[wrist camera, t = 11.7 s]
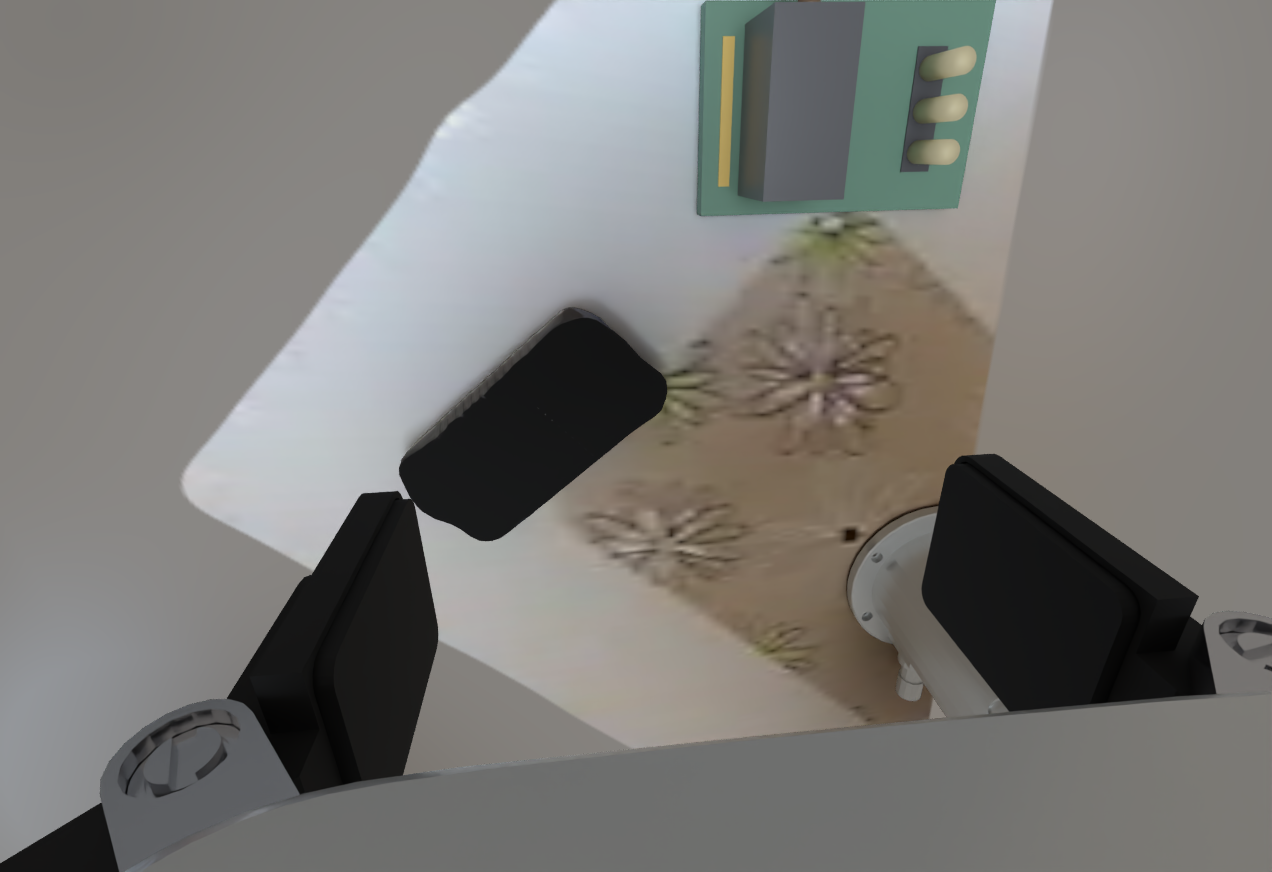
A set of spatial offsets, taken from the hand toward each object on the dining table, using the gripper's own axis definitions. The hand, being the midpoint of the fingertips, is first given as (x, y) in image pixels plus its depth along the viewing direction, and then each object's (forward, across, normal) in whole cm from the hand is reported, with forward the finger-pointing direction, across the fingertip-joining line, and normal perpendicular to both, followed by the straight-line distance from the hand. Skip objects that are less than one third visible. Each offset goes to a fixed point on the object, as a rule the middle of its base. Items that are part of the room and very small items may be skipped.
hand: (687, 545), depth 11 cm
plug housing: (+27, -9, -9) cm, 30 cm away
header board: (+28, -13, -8) cm, 32 cm away
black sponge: (+29, +5, +9) cm, 31 cm away
